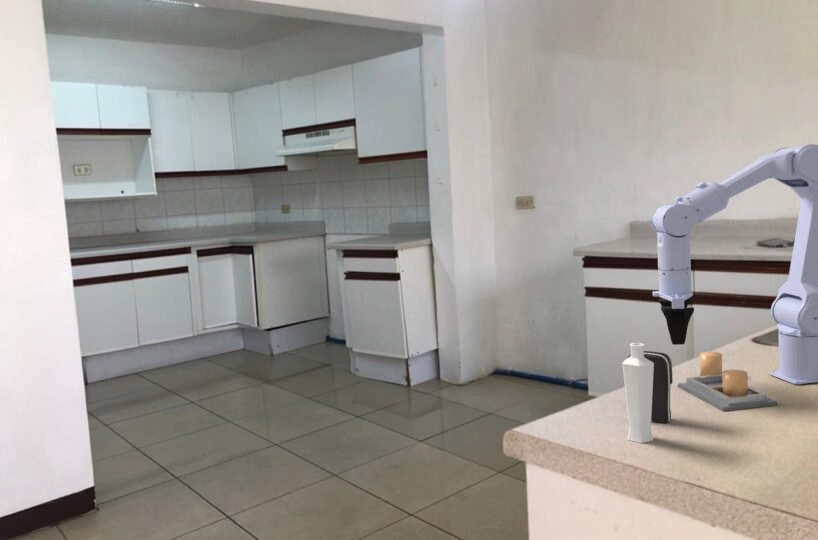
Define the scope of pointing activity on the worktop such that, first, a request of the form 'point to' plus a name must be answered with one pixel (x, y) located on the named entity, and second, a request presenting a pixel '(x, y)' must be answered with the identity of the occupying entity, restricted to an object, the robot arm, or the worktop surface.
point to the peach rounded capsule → (710, 363)
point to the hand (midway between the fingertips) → (676, 339)
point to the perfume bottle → (638, 393)
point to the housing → (727, 391)
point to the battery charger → (660, 385)
